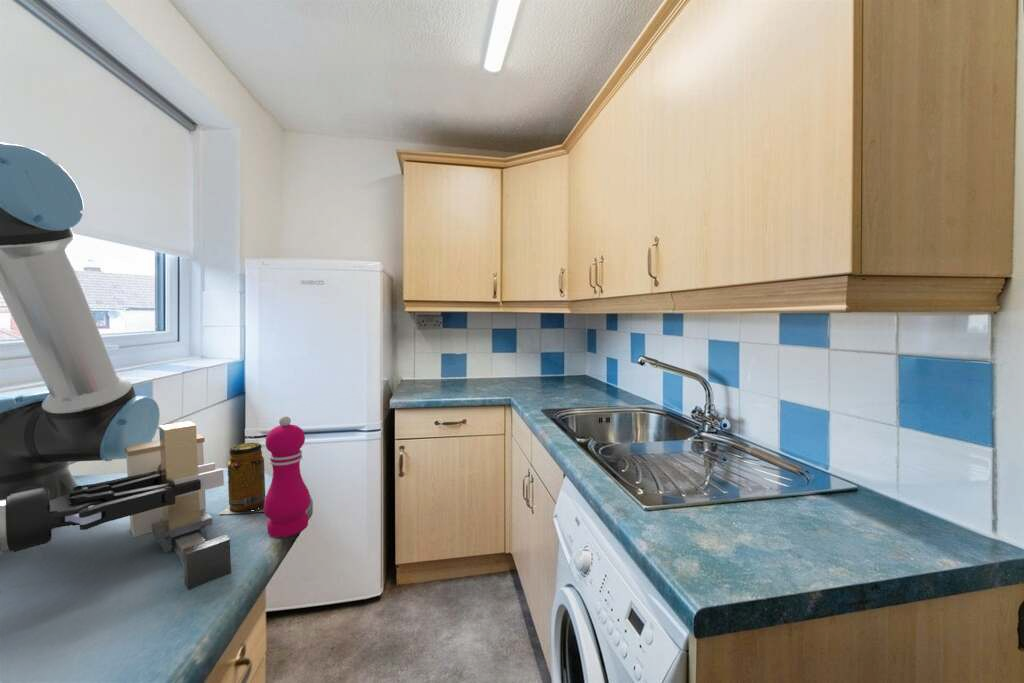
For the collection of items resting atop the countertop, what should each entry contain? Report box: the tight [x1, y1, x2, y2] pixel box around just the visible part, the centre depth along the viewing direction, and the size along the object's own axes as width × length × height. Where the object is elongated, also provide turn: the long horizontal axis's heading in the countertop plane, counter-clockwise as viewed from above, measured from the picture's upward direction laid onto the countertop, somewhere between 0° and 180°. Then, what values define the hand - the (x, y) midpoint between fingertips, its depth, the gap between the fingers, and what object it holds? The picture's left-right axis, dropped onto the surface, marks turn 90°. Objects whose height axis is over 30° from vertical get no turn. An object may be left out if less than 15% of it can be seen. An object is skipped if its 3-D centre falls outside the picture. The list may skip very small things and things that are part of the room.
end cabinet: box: [124, 432, 207, 538], centre depth 74 cm, size 5×10×15 cm, turn 140°
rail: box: [161, 517, 232, 591], centre depth 65 cm, size 24×5×5 cm, turn 50°
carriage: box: [151, 420, 213, 553], centre depth 67 cm, size 5×7×19 cm
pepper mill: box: [263, 415, 311, 539], centre depth 71 cm, size 7×7×20 cm
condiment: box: [218, 442, 266, 515], centre depth 80 cm, size 7×8×12 cm
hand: (218, 473), depth 71 cm, fingers closed on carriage, 4 cm apart
